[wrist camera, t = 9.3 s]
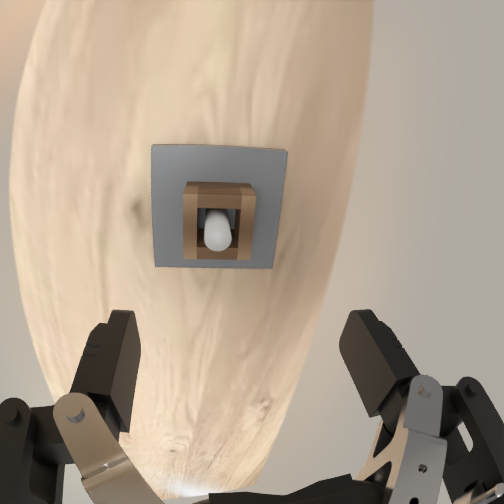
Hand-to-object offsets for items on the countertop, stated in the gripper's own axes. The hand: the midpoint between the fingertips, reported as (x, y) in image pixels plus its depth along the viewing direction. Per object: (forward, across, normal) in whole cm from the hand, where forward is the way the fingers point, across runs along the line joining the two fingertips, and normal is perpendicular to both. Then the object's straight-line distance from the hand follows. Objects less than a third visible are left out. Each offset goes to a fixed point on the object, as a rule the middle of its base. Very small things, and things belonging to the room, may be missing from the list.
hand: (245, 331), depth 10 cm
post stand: (+19, 0, +2) cm, 19 cm away
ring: (+18, 0, +2) cm, 18 cm away
